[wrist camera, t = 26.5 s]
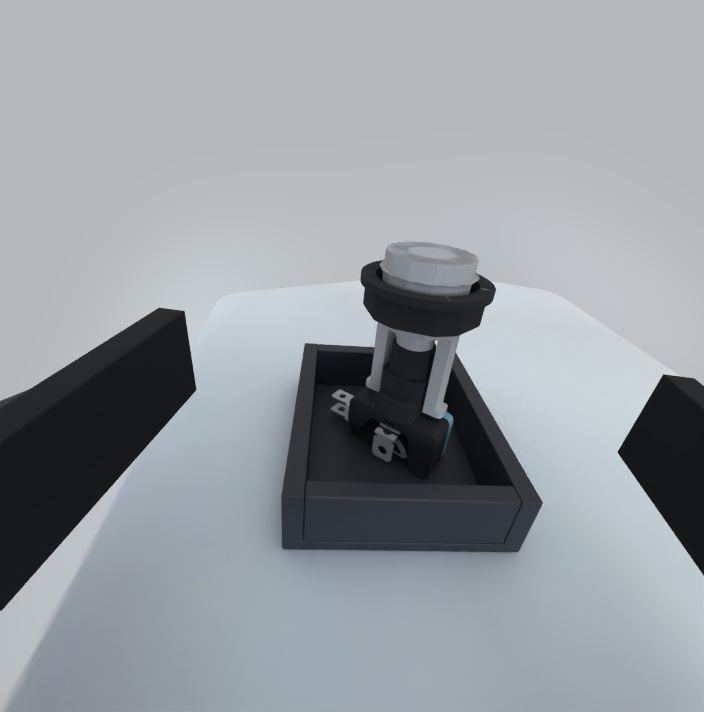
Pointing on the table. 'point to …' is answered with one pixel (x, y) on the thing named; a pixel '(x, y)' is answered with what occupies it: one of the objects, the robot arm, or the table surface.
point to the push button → (414, 349)
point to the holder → (398, 473)
